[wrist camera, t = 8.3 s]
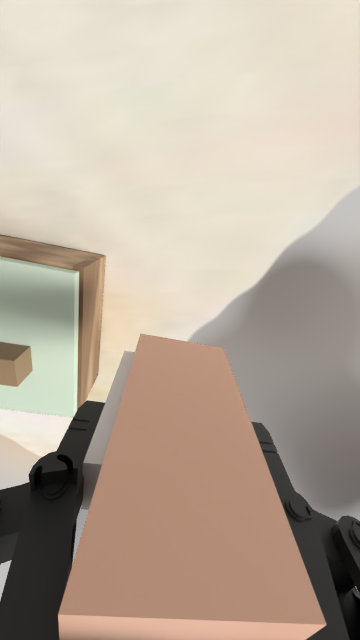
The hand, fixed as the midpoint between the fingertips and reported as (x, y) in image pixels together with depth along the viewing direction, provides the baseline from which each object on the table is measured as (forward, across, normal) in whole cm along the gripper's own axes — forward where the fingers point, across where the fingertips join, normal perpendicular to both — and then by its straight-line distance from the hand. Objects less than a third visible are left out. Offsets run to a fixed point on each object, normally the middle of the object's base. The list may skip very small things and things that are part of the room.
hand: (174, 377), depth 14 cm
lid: (+9, -15, -6) cm, 19 cm away
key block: (0, 0, 0) cm, 0 cm away
